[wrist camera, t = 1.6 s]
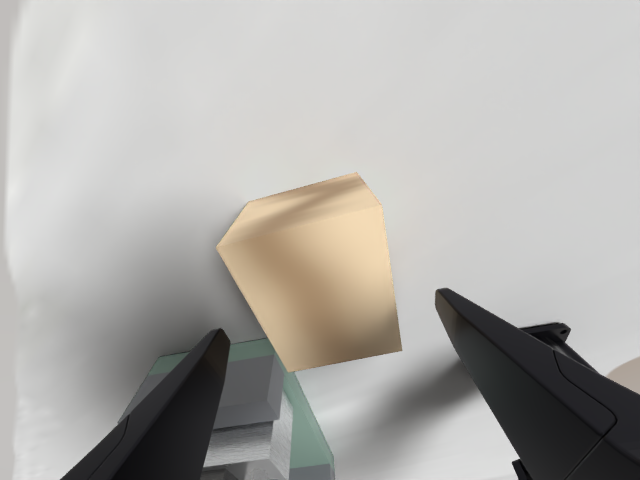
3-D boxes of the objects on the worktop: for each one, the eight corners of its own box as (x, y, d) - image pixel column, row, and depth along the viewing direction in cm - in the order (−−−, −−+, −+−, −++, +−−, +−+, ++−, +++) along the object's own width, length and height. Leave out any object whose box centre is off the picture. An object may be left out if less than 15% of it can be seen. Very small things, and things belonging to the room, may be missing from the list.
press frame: (277, 336, 18) (251, 497, 10) (333, 456, 29) (340, 573, 22) (159, 357, 18) (56, 520, 11) (259, 466, 30) (242, 581, 23)
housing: (356, 171, 12) (381, 204, 8) (377, 284, 16) (402, 350, 11) (249, 200, 12) (215, 247, 8) (294, 303, 16) (288, 372, 12)
